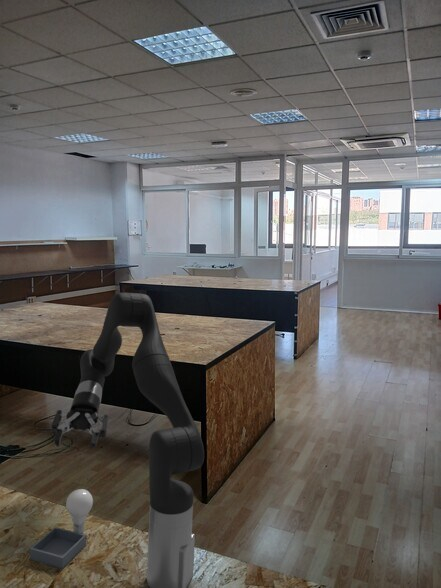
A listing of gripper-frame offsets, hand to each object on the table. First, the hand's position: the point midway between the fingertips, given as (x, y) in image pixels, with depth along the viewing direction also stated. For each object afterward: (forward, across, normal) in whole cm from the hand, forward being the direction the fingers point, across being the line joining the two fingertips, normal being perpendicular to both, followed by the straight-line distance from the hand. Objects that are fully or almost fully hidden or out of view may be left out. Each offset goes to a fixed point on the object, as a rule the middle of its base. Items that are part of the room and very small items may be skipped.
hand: (74, 445), depth 114 cm
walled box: (+20, +1, +12) cm, 24 cm away
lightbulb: (+14, +4, +15) cm, 21 cm away
